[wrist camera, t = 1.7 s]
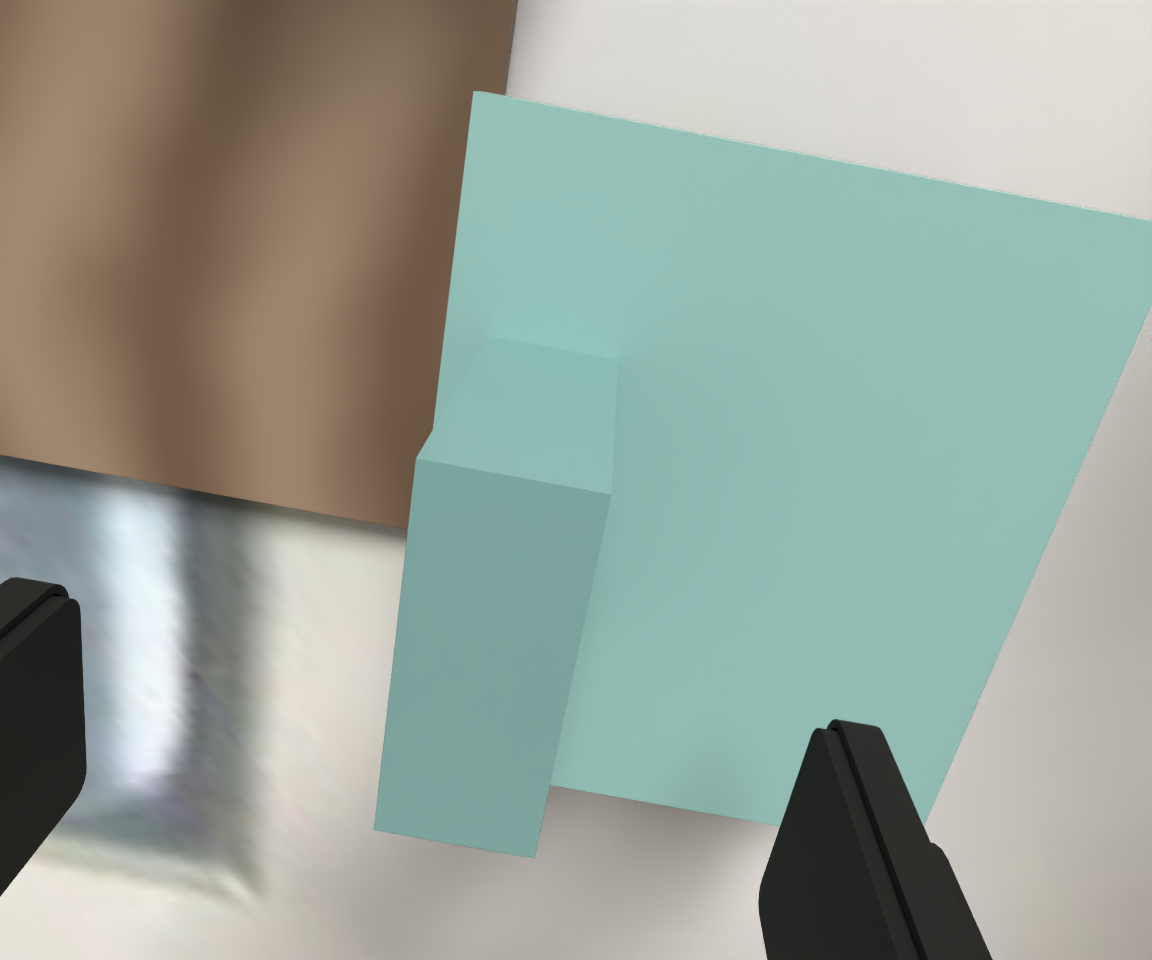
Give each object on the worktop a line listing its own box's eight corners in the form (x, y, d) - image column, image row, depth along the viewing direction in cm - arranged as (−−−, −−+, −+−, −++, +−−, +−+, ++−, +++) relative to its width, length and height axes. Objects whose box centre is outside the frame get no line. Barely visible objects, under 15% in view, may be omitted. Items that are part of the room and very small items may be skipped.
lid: (1119, 212, 17) (1505, 306, 9) (888, 782, 23) (1016, 1127, 15) (492, 91, 17) (379, 89, 9) (414, 697, 22) (304, 1003, 15)
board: (518, -4, 21) (512, -8, 20) (448, 520, 27) (441, 535, 26) (-72, -118, 21) (-104, -127, 20) (-19, 434, 27) (-43, 446, 26)
